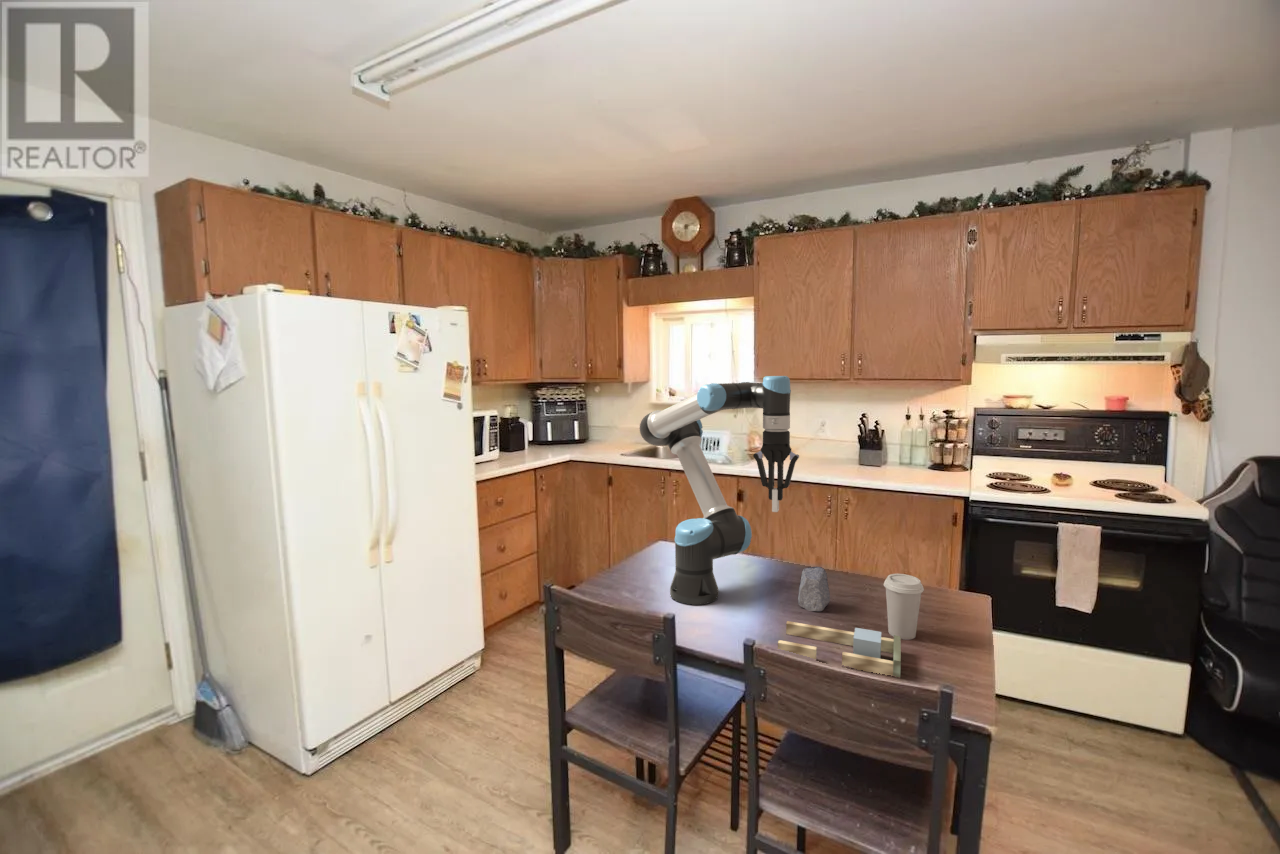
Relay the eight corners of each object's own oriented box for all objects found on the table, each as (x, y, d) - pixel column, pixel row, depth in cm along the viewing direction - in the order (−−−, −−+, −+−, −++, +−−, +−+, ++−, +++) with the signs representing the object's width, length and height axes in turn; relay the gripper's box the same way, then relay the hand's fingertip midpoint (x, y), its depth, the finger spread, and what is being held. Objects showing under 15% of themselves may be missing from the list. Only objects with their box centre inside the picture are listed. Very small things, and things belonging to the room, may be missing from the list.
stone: (804, 601, 173) (836, 597, 168) (799, 620, 165) (832, 616, 160) (791, 567, 172) (823, 562, 167) (785, 584, 163) (819, 579, 158)
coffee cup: (875, 626, 152) (876, 573, 150) (908, 624, 153) (910, 571, 151) (894, 643, 143) (896, 586, 141) (929, 641, 143) (932, 585, 142)
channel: (777, 654, 138) (777, 638, 138) (787, 631, 150) (787, 617, 149) (900, 678, 127) (900, 661, 126) (899, 651, 138) (900, 636, 138)
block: (852, 661, 134) (853, 638, 134) (854, 650, 140) (855, 627, 139) (879, 667, 132) (880, 642, 131) (880, 655, 137) (881, 631, 136)
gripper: (750, 430, 159) (750, 511, 161) (797, 432, 153) (796, 516, 155) (756, 428, 165) (756, 506, 168) (801, 429, 160) (800, 509, 162)
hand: (775, 510), depth 162 cm, fingers closed
